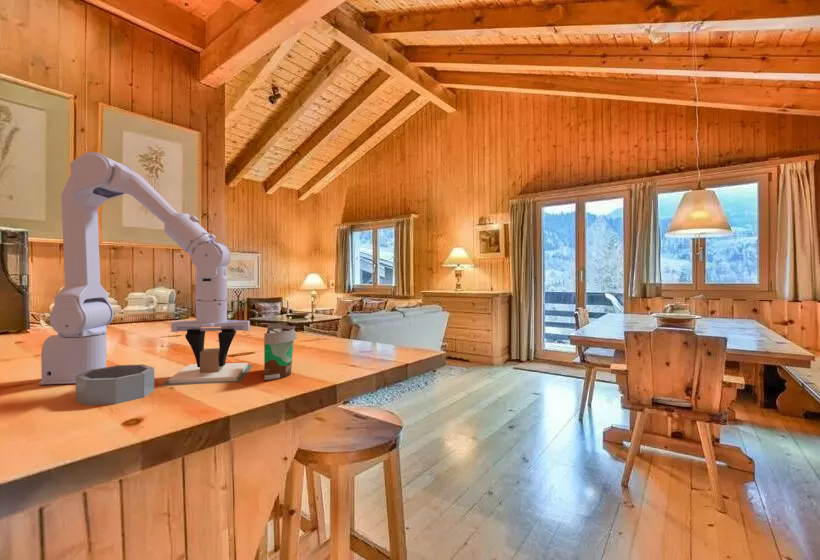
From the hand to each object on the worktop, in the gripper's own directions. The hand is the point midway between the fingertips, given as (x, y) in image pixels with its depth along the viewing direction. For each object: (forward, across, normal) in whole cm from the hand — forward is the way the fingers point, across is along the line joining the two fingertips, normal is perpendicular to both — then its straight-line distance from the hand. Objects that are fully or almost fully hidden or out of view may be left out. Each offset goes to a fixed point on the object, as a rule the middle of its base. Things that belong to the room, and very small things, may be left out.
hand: (211, 365), depth 83 cm
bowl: (+2, -12, -12) cm, 17 cm away
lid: (+2, 0, 0) cm, 2 cm away
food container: (+2, +14, -2) cm, 14 cm away
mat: (+2, 0, 0) cm, 2 cm away
